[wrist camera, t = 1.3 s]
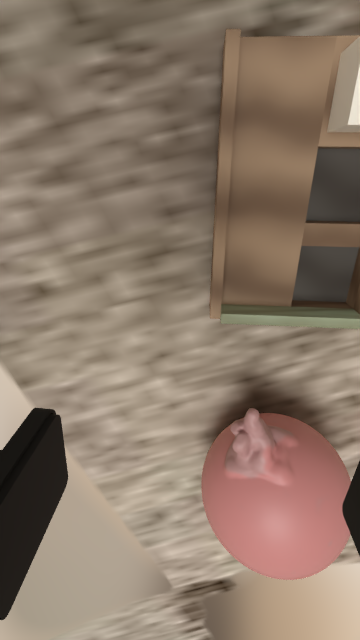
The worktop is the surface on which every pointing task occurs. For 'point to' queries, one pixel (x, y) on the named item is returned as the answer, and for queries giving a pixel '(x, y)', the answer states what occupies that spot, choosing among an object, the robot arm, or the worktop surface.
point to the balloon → (276, 495)
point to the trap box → (285, 188)
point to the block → (347, 92)
